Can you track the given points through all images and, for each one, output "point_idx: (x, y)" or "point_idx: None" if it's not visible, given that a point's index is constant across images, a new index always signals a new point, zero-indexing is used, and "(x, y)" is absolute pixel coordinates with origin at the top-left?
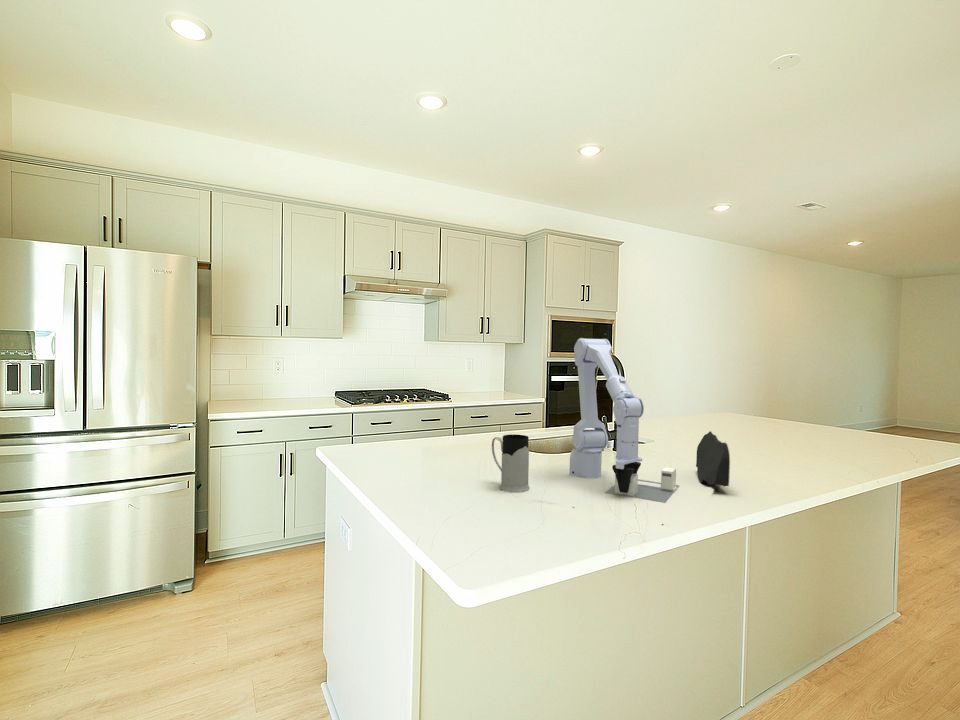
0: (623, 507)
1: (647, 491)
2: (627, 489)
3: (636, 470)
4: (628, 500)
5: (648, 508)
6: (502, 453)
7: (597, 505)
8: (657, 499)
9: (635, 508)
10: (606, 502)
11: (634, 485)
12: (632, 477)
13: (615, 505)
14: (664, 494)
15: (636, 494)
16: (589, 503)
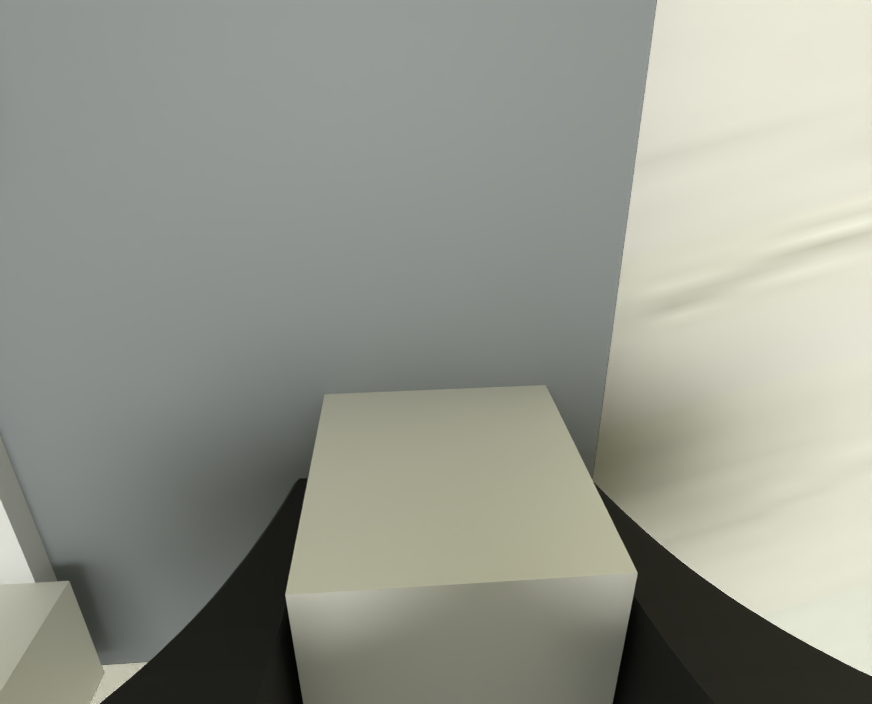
0: (842, 364)
1: (189, 297)
2: (599, 490)
3: (263, 691)
4: None
5: (781, 110)
6: None
7: (857, 552)
8: (533, 47)
9: (837, 249)
10: (732, 529)
11: (518, 465)
12: (633, 589)
13: (800, 443)
14: (144, 7)
15: (450, 373)
16: (820, 611)
